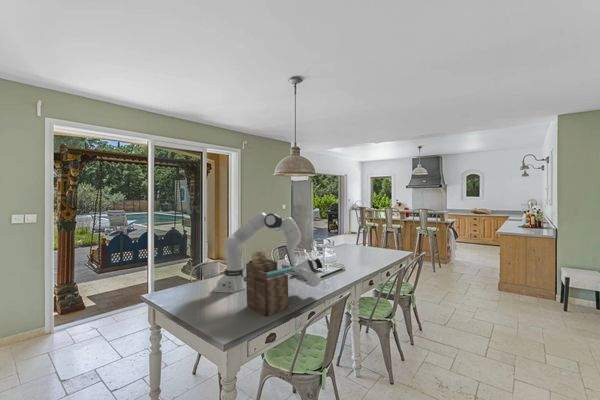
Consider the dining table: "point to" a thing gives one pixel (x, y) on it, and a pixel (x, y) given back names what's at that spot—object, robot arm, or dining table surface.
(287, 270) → the slat
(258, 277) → the rack
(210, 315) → the dining table surface
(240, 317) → the dining table surface
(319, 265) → the magazine
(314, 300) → the dining table surface
